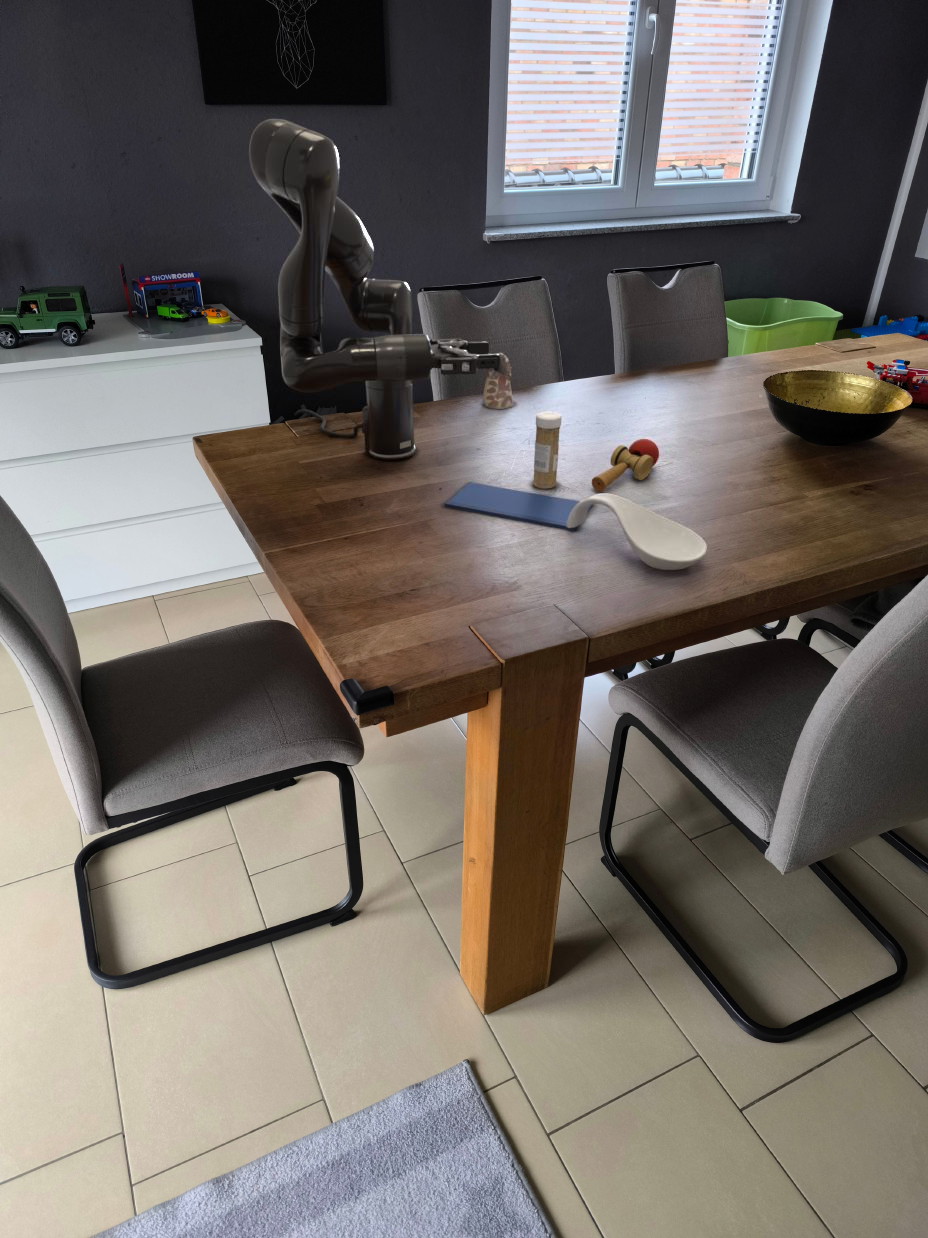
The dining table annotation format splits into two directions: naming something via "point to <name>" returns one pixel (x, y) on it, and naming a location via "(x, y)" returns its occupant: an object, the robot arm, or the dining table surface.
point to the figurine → (498, 386)
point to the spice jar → (546, 449)
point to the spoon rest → (647, 533)
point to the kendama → (629, 463)
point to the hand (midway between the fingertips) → (493, 354)
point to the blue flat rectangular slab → (514, 505)
